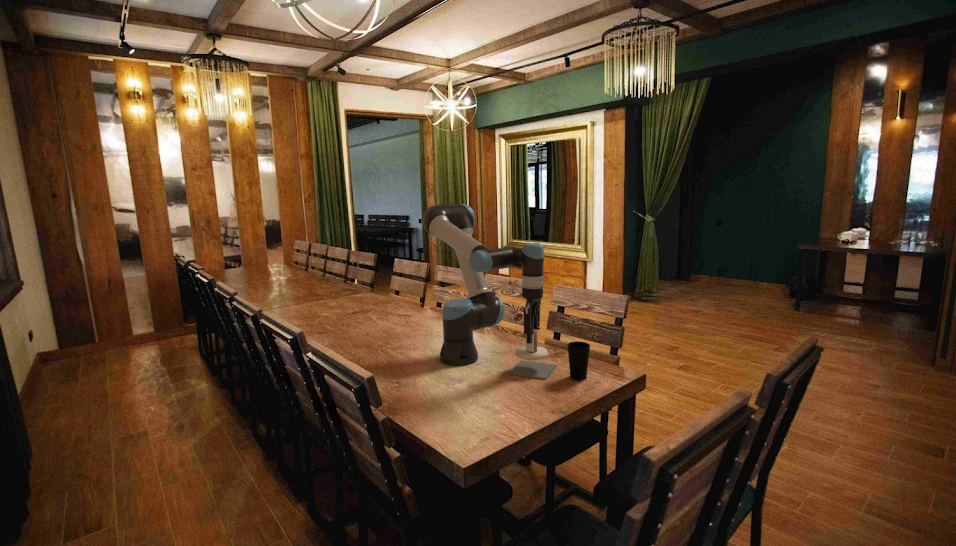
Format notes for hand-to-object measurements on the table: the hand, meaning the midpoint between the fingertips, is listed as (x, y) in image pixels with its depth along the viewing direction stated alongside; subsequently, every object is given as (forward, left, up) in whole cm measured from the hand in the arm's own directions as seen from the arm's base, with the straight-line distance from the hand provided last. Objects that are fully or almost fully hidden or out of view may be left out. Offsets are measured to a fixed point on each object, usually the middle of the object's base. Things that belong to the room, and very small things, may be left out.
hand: (531, 348), depth 176 cm
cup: (+18, -1, -8) cm, 19 cm away
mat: (+1, 0, -8) cm, 8 cm away
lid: (0, 0, -2) cm, 2 cm away
